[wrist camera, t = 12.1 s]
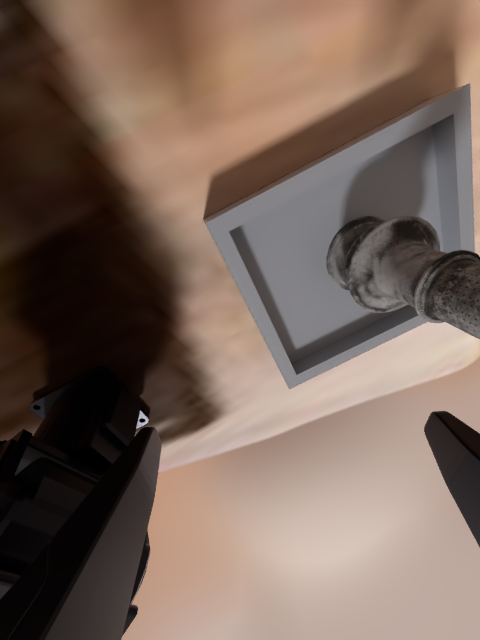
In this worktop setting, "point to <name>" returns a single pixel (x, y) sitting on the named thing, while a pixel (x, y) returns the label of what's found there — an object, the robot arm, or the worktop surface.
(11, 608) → the robot arm
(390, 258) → the grey tall rounded piece
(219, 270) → the worktop surface
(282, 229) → the grey tray
